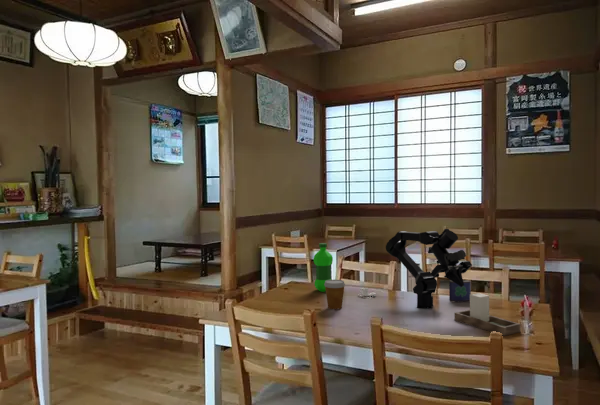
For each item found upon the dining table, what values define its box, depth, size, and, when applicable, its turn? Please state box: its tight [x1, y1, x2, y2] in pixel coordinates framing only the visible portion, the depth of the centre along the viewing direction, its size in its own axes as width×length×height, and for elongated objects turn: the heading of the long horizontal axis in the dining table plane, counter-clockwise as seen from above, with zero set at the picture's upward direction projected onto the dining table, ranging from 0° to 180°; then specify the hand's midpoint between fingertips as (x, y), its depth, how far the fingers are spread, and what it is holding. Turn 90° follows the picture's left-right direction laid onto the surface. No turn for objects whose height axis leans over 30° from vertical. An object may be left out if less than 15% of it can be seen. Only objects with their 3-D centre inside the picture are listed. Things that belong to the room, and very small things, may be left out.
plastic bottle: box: [313, 242, 334, 293], centre depth 235 cm, size 10×10×25 cm
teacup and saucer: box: [359, 287, 377, 299], centre depth 222 cm, size 9×8×4 cm
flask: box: [448, 279, 472, 302], centre depth 209 cm, size 10×3×12 cm, turn 87°
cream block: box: [469, 292, 490, 321], centre depth 174 cm, size 5×5×10 cm
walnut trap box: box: [453, 309, 522, 337], centre depth 172 cm, size 23×9×3 cm, turn 28°
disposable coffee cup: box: [324, 279, 346, 310], centre depth 201 cm, size 10×10×12 cm
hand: (462, 286), depth 181 cm, fingers closed
